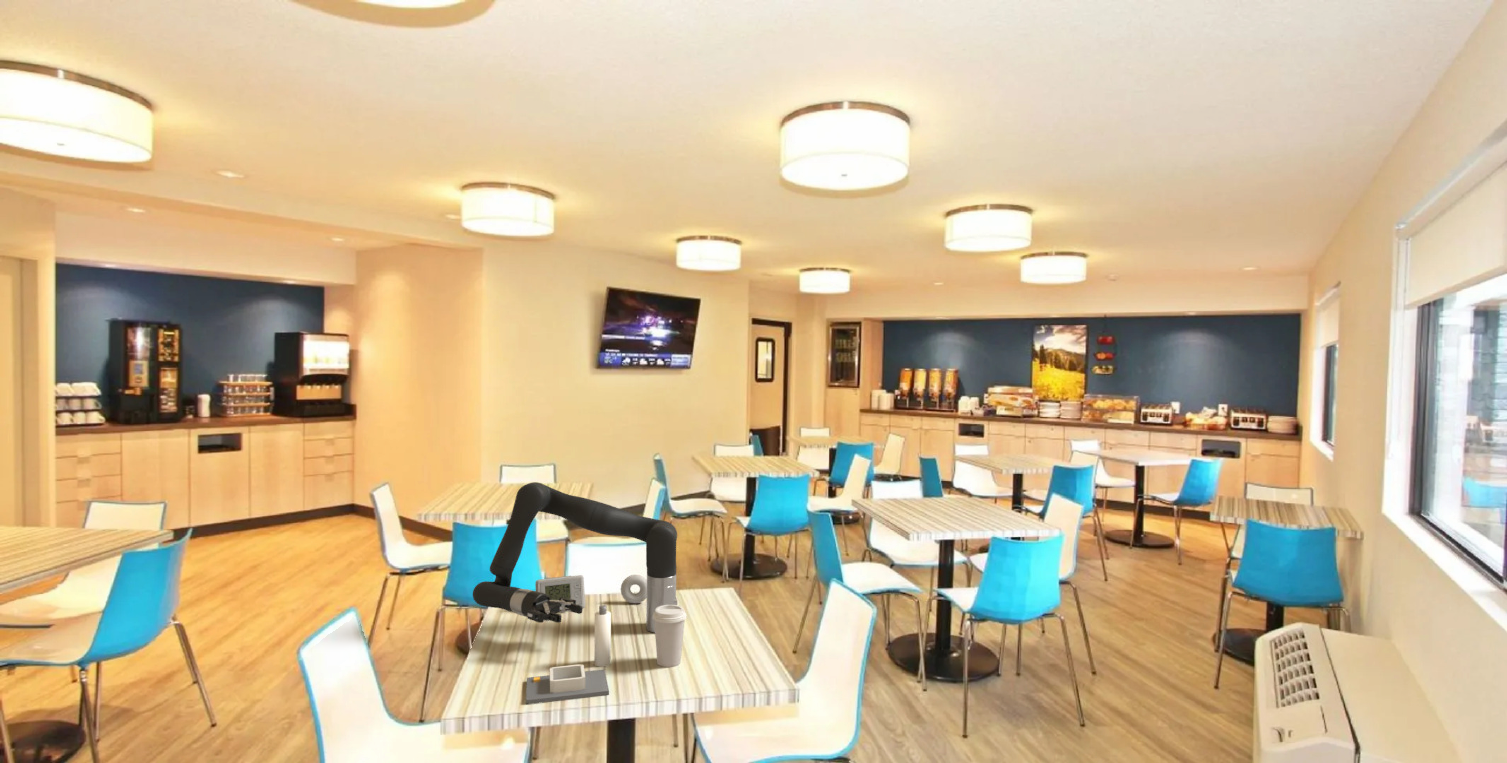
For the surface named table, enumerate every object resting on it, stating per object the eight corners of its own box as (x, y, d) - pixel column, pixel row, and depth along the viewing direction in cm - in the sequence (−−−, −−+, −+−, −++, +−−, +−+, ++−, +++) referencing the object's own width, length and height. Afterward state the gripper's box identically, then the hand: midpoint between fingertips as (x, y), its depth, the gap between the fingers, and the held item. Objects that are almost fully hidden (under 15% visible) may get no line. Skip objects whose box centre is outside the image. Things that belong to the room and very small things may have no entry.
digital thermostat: (534, 615, 238) (534, 583, 237) (536, 606, 247) (536, 575, 246) (584, 612, 241) (585, 580, 241) (585, 603, 250) (585, 573, 250)
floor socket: (604, 672, 195) (604, 658, 195) (608, 694, 183) (609, 679, 183) (526, 681, 190) (526, 666, 189) (526, 704, 177) (526, 688, 177)
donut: (649, 601, 253) (650, 573, 253) (649, 604, 249) (649, 576, 249) (621, 601, 252) (621, 573, 252) (619, 605, 249) (620, 576, 248)
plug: (609, 659, 204) (610, 603, 204) (611, 665, 200) (611, 608, 200) (593, 660, 203) (594, 604, 202) (595, 667, 199) (595, 609, 198)
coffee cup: (691, 658, 206) (692, 606, 205) (677, 671, 197) (677, 617, 196) (661, 653, 209) (661, 601, 208) (645, 666, 200) (646, 612, 199)
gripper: (511, 597, 208) (553, 608, 200) (547, 584, 220) (588, 594, 213) (510, 623, 208) (553, 635, 200) (547, 609, 220) (587, 619, 213)
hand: (571, 614), depth 206 cm, fingers open, 8 cm apart
